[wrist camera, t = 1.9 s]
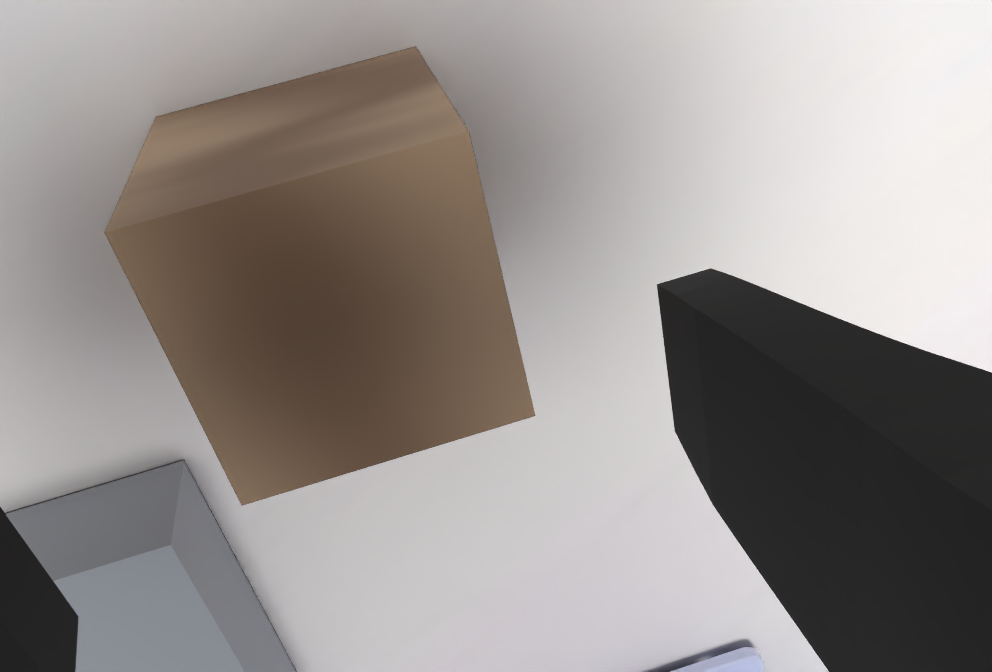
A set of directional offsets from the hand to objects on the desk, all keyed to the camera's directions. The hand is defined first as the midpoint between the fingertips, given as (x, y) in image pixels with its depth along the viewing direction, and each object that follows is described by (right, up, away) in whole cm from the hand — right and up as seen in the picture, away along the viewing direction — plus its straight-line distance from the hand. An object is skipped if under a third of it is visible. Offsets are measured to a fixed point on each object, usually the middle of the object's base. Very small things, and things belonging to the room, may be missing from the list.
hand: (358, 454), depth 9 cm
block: (-2, +4, +7) cm, 8 cm away
